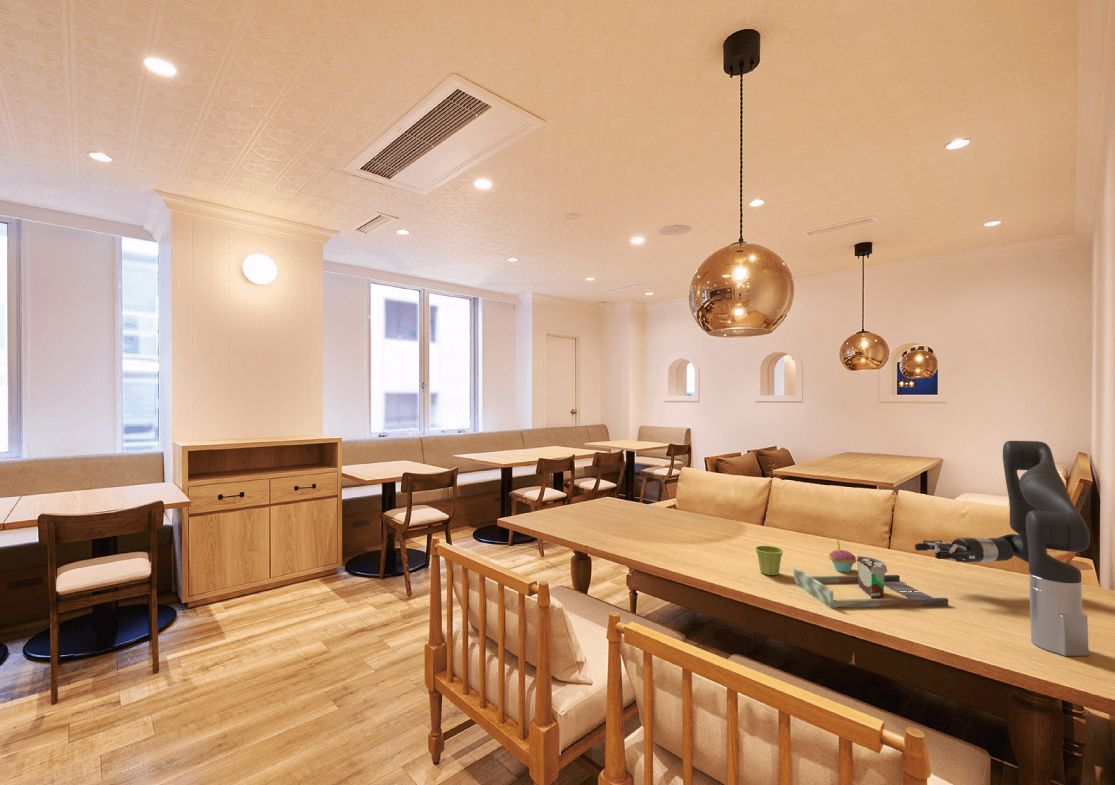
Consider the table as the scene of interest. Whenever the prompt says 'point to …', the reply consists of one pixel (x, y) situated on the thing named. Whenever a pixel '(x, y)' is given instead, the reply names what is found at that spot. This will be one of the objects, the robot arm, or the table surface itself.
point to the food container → (871, 576)
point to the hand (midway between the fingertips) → (925, 551)
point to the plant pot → (769, 559)
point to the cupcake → (842, 559)
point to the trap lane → (893, 581)
